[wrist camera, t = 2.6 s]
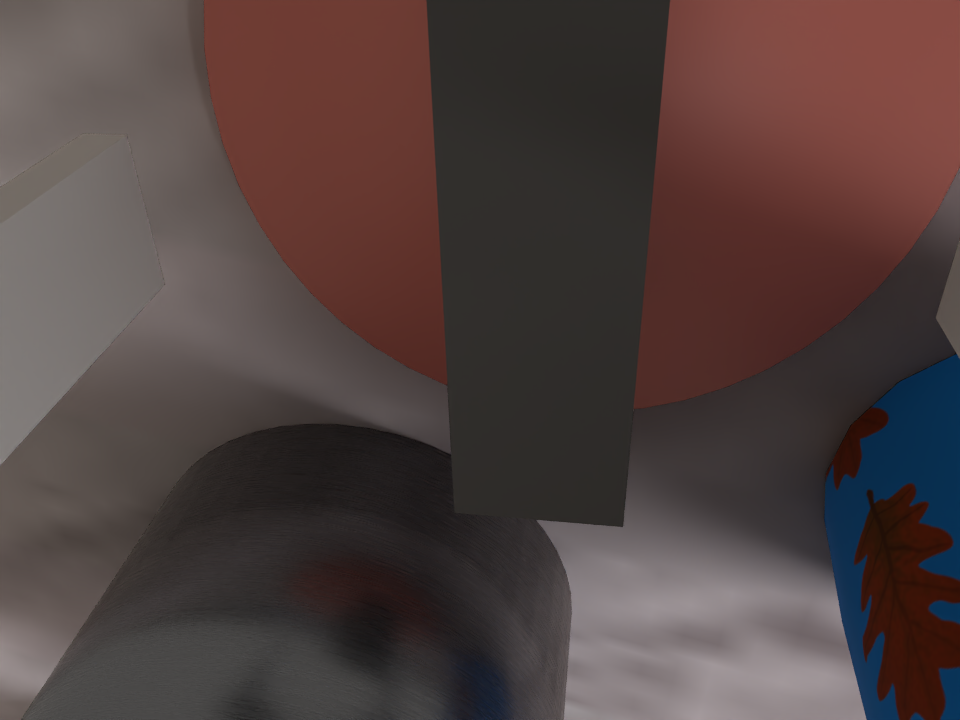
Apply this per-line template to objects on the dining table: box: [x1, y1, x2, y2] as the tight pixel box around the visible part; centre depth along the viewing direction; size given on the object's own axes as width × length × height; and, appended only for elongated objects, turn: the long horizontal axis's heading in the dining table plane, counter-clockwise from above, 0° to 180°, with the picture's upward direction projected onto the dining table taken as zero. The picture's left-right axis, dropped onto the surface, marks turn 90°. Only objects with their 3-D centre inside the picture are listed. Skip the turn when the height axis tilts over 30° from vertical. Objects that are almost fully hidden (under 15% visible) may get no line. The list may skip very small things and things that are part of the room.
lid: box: [204, 0, 960, 527], centre depth 17 cm, size 17×17×10 cm
